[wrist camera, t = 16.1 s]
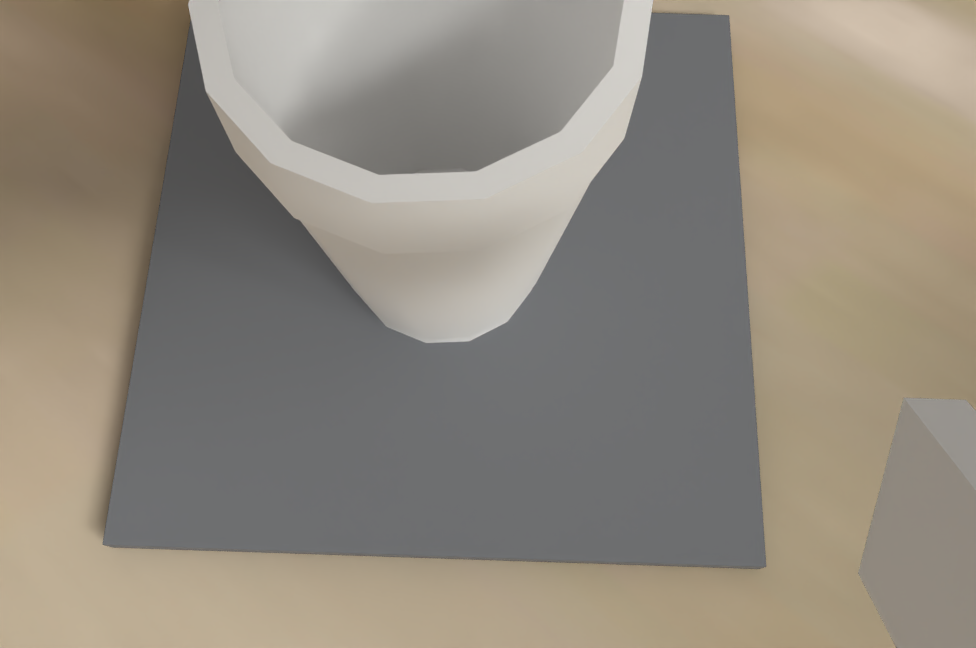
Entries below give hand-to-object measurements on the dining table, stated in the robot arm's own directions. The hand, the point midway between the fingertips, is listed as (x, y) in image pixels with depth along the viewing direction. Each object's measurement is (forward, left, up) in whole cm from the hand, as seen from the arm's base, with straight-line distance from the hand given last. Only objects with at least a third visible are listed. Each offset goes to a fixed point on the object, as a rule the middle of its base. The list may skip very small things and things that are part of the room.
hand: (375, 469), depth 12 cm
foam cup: (0, -10, -17) cm, 20 cm away
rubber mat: (0, -10, -17) cm, 20 cm away
